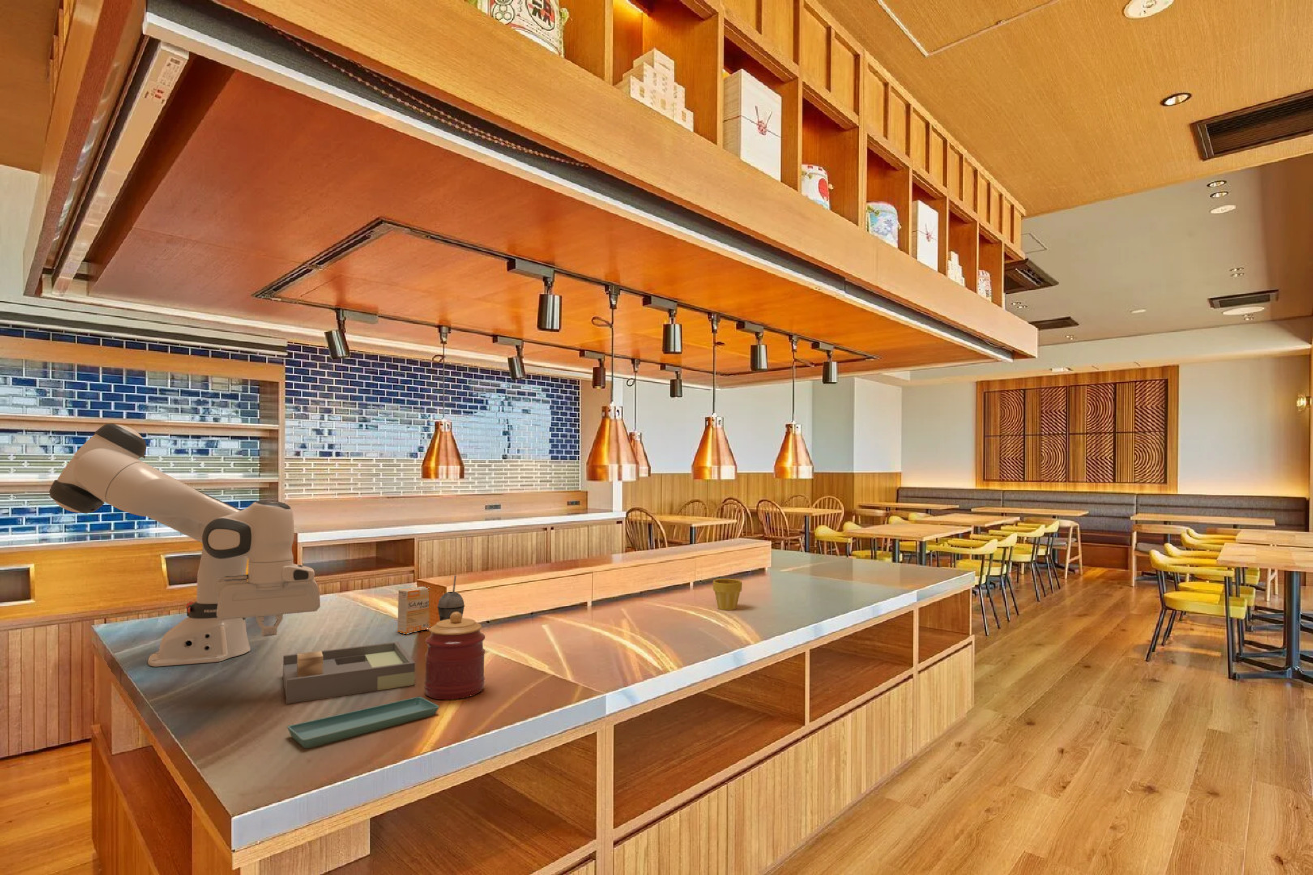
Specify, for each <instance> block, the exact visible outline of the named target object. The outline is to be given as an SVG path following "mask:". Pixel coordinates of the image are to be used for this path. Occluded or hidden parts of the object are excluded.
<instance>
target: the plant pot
mask: <svg viewBox="0 0 1313 875" xmlns="http://www.w3.org/2000/svg"><path fill="white" fill-rule="evenodd" d="M742 590H743V582H742V580H740V579H736V578H735V579H734V578H718V579H717V578H716V579H714V580H712V591H714V594H715V599H716V600H715V601H716V605H717V609H719V610H722V611H735V610H736V609H737V607H738V601H739V598H740V594H741V592H742Z"/></svg>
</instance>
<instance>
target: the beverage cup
mask: <svg viewBox="0 0 1313 875" xmlns="http://www.w3.org/2000/svg"><path fill="white" fill-rule="evenodd" d="M456 581H457V575H456V574H454V577H453V585H452V591H447V592H445V593H444V594H443V595H441V596H440V598H439V600H438V603H437V611H438V615H439V621H442V620H447V619H450V616H451V614H452V613H453V612H459V613H461V615H462V616H463V614H464V611H465V601H464V599H463V597H462V595H461V594H460V593H459V592H457V591H455V589H456V583H457V582H456Z"/></svg>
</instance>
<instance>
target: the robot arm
mask: <svg viewBox="0 0 1313 875" xmlns="http://www.w3.org/2000/svg"><path fill="white" fill-rule="evenodd" d="M146 450H147V442H146V440H145V439H144V438H143V437H142V435H141V434H140V433H139V432H137V430H135V429H134V428H131V427H129V426H128V425H127V426H126V425H122V424H115V423H105V424H104V425H102V426H101V427H98V429H97V430H95V432H94V434H93V435H92V436H91V437H90V438H88V440H86V442H85V443H84V444H82V445H81V446H80V447H79V449H78V450H77V451H76V452H75V453H74V454H73V457H72V458H71V459H70V461H69V462H68V463H67V464H66V465H65V467H64V468H63V470H62V471H61V473H60V475H59V476H58V477H57V479H54V481H53V482H52V484H51V486H50V488H49V490H48V491H49V496H50V498H51V499H52V500H53V501H54V502H55V504H57V505H58V506H60V508H62V509H64V510H66V511H69V512H72V513H77V514H80V513H81V514H91V513H95V511H97V510H98V509H100V508H101V507H102V506H104V504H105V503H106V504H108V505H111V506H112V507H114V508H116V509H118V510H120V511H122V512H126V513H129V514H131V515H135V516H139V517H147V518H149V519H152V520H154V521H155V522H158V523H159V524H162V525H165V526H166V527H168V528H171V529H173V530H174V531H176V532H179V533H181V534H183V535H185V536H187V537H189V538H191V539H193V540H196V541H197V542H200V543H201V544H202V549H201V553H200V562H199V566H198V570H197V575H196V576H197V578H196V579H197V580H196V601H189V602H187V604H186V605H185V608H186V618H185V619H183V620H182V621H180V622H178V624H176V625H175V626H174V627H172V628H171V629H169V630H168V631H166V633H165V634H164V635H163V636H162V639H161V640H160V643H159V648H158V651H155V652H154V653H152V654H150V656H149V657H148V661H147V664H148V666H151V667H165V666H167V667H168V666H179V665H191V664H193V665H194V664H204V663H205V664H206V663H217V662H222V661H225V660H227V659H230V658H234V657H237V656H241V655H244V654H247V653H248V652H250V651H251V646H250V642H249V638H248V634H247V633H248V632H247V627H246V625H247V624H246V619H247V618H256V623H257V625H258V626H259V627H260V629H261V637H269V636H277V632H278V630H277V629H278V627H279V626H280V624H281V623H282V621H283V619H284V615H290V614H301V613H313V612H317V611H318V610H319V609H320V607H321V597H320V596H321V595H320V590H319V586H318V583H317V582H316V580H315V575H316V574H315V570H314V569H313V568H312V567H309V566H306V565H301V564H296V563H294V554H293V551H292V550H293V549H292V548H293V547H292V546H293V543H294V541H295V540H294V539H295V524H294V514H293V510H292V507H291V506H290V505H288V504H287V503H285V502H282V501H277V500H266V499H265V500H264V499H262V500H257V501H256V500H255V501H254V502H252V503H251V504H250V505H249V506H247V507H246V508H244V509H240V508H238V507H236V506H233V505H231V504H229V503H227V502H225V501H223V500H220V499H218V498H215V497H213V496H211V495H209V494H206V493H204V492H202V491H199V490H197V489H196V488H194V487H192V486H189V485H188V484H186V483H184V482H182V481H180V480H178V479H176V478H174V477H173V476H170V475H168V474H166V473H165V472H163V471H161V470H159V469H157V468H155V467H153V466H151V465H149V464H147V463H146V462H143V461H141V460H140V458H143V459H146V457H147V456H146V455H145V454H146ZM247 564H248V565H247ZM247 566H248V569H247ZM246 573H248V574H246ZM267 616H268V617H269V616H270V617H271V616H275V620H276V621H275V622H274V623H273V625H271V626H266V625H265V623H264V621H265V620H264V619H265V617H267Z"/></svg>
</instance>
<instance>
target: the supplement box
mask: <svg viewBox="0 0 1313 875" xmlns="http://www.w3.org/2000/svg"><path fill="white" fill-rule="evenodd" d="M428 588H429V587H428ZM428 588H426V586H418V587H411V588H405V589H398V597H397V598H398V599H397V600H398V602H397V633H398V632H401V633H405V634H407V633H410V632H414V631H420V630H425V629H427V628H429V629H430V611H429V595H428V594H429V592H428V591H429V590H428ZM428 621H429V623H428Z"/></svg>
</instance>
